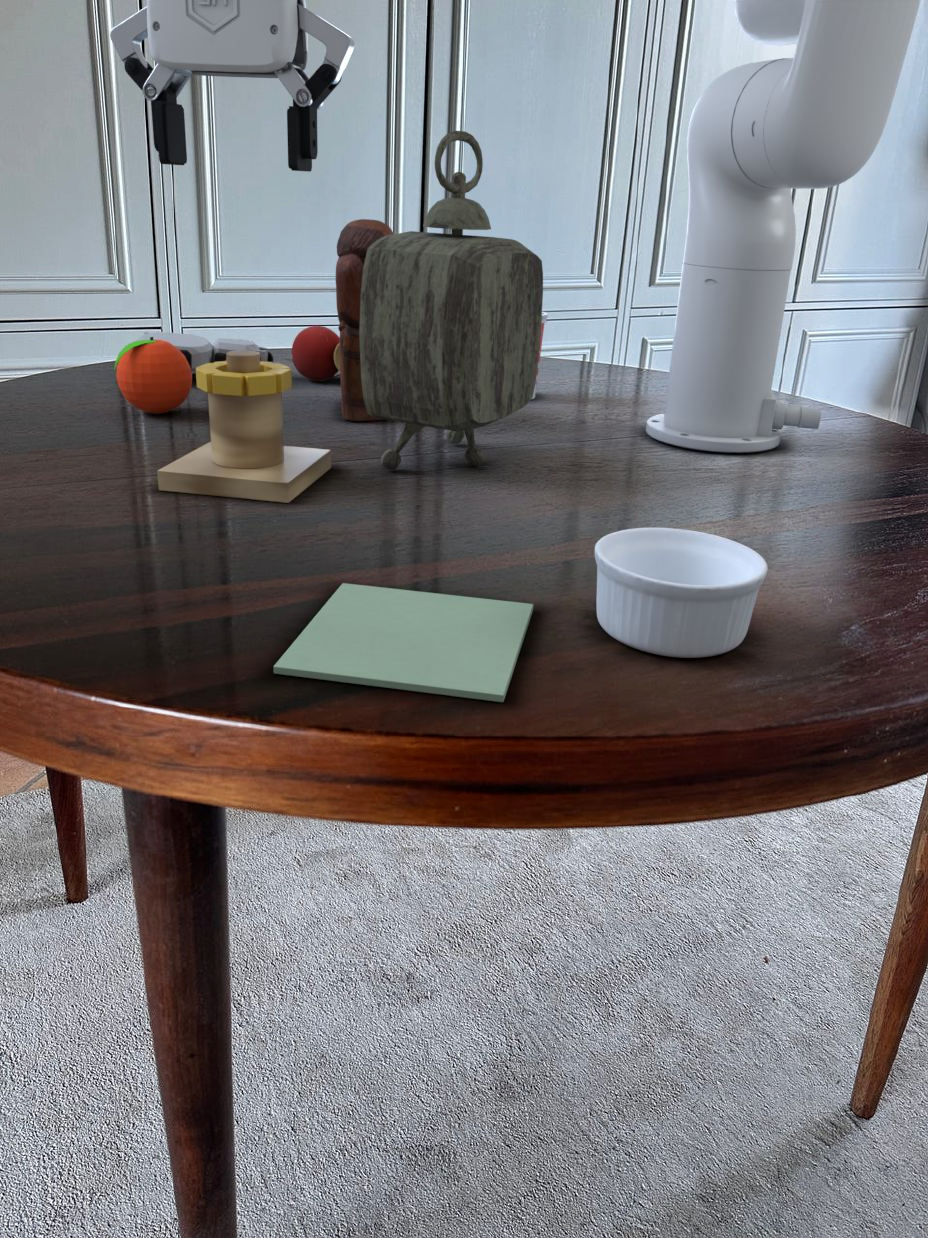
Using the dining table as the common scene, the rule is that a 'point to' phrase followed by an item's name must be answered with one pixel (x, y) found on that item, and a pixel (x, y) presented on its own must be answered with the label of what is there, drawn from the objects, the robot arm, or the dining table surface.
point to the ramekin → (676, 590)
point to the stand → (246, 449)
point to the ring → (243, 379)
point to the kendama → (316, 353)
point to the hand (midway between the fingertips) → (236, 167)
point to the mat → (412, 642)
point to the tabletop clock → (449, 321)
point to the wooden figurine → (353, 309)
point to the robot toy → (206, 347)
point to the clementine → (153, 375)
